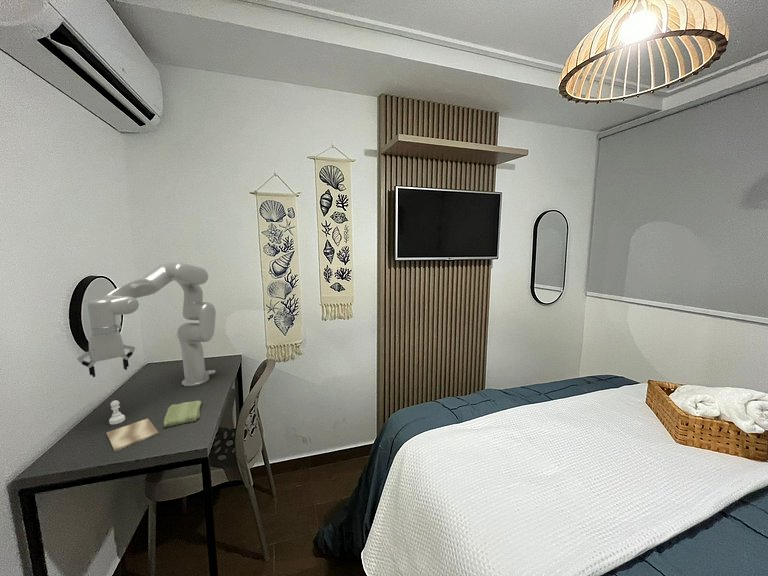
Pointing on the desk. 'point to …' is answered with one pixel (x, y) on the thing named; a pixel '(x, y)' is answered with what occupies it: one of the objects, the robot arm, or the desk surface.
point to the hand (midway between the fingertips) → (110, 372)
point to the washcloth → (182, 413)
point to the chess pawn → (116, 414)
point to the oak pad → (131, 434)
